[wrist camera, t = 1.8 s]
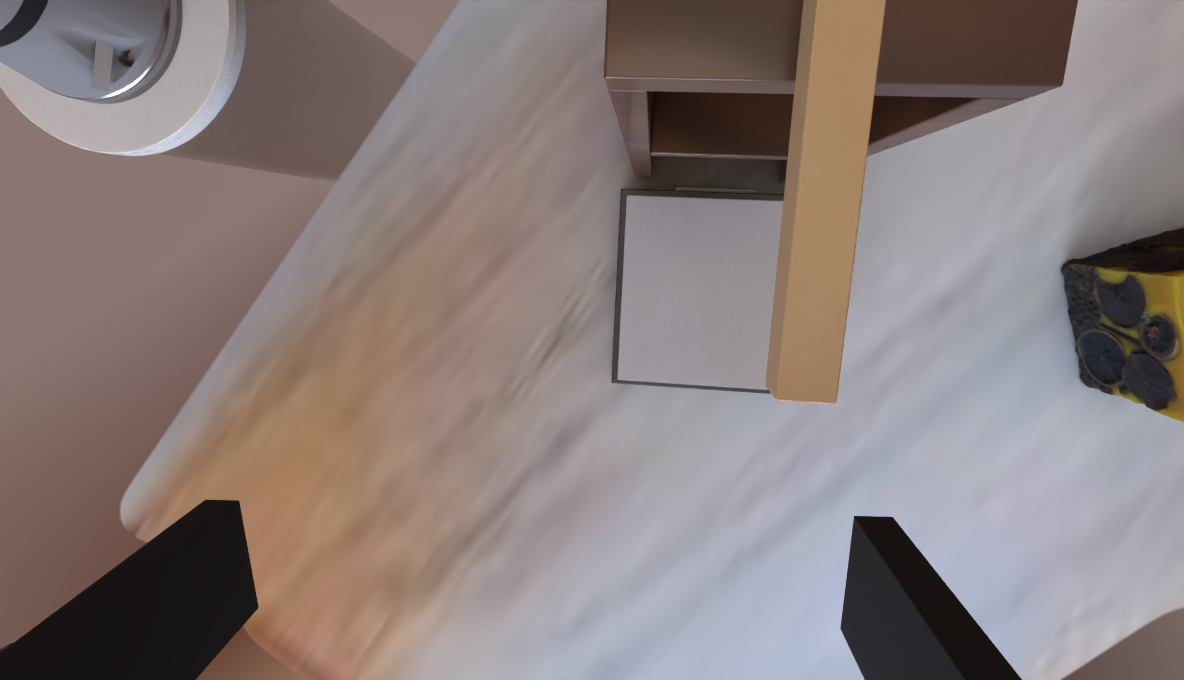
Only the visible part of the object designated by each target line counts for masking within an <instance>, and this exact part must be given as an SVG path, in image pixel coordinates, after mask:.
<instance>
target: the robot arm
mask: <svg viewBox="0 0 1184 680" xmlns="http://www.w3.org/2000/svg"><path fill="white" fill-rule="evenodd" d="M181 28H182V0H0V62H1V63H3V64H5V65H6V66H8V67H10V68H11V69H13V70H15V71H17V72H18V73H20V74H22V75H23V76H25V77H27V78H29V79H30V80H32V81H34V82H36V83H37V84H39V85H41V86H42V87H44V88H46V89H48V90H50V91H52V92H54V93H57V94H59V95H62V96H66V97H70V98H74V99H78V100H82V101H87V102H92V103H98V104H114V103H121V102H124V101H128V100H131V99H133V98H136V97H138V96H139V95H141V94H143V93H144V92H146V91H147V90H149V89H150V88H151V87H152V86H153V85H155V84H156V83H157V82H158V80H159V79H160V78H161V77H162V76H163V74H164V73H165V72H166V70H167V69H168V67H169V65H170V63H171V62H172V59H173V57H174V55H175V53H176V50H177V47H178V43H179V39H180V35H181ZM257 609H258V602H257V597H256V591H255V586H254V580H253V575H252V569H251V564H250V558H249V553H248V547H247V542H246V536H245V531H244V525H243V520H242V514H241V509H240V503H239V501H233V500H205V501H203V502H202V503H201V504H199V505H198V506H196V507H195V508H194V509H192V510H191V511H190V512H188V513H187V514H186V515H184V516H183V517H182V518H180V519H179V520H178V521H176V522H175V523H174V524H172V525H171V526H170V527H168V528H167V529H166V530H164V531H163V532H162V533H160V534H159V535H158V536H156V537H155V538H154V539H152V540H151V541H150V542H148V543H147V544H146V545H144V546H143V547H142V548H140V549H139V550H138V551H136V552H135V553H134V554H132V555H131V556H129V557H128V558H127V559H125V560H124V561H123V562H122V563H120V564H119V565H117V566H116V567H115V568H113V569H112V570H111V571H109V572H108V573H107V574H106V575H104V576H103V577H101V578H100V579H99V580H97V581H96V582H95V583H93V584H92V585H91V586H89V587H88V588H87V589H85V590H84V591H83V592H81V593H80V594H79V595H77V596H76V597H75V598H73V599H72V600H71V601H69V602H68V603H67V604H65V605H64V606H63V607H61V608H60V609H59V610H57V611H56V612H55V613H53V614H52V615H50V616H49V617H48V618H47V619H45V620H44V621H42V622H41V623H40V624H38V625H37V626H36V627H34V628H33V629H32V630H31V631H29V632H28V633H26V634H25V635H24V636H23V637H21V638H20V639H18V640H17V641H16V642H14V643H11V644H9V645H7V646H6V647H4V648H2V649H0V680H196V679H197V678H198V676H199V675H200V674H201V673H202V672H203V671H204V669H205V668H206V667H207V666H208V665H209V664H210V663H211V661H212V660H213V659H214V658H215V657H216V656H217V654H218V653H219V652H220V651H221V650H222V649H223V648H224V647H225V645H226V644H227V643H228V642H229V641H230V640H231V638H232V637H233V636H234V635H235V634H236V633H237V632H238V631H239V629H240V628H241V627H242V626H243V625H244V624H245V623H246V621H247V620H248V619H249V618H250V617H251V616H252V615H253V613H254V612H255V611H256V610H257ZM841 631H842V633H843V635H844V637H845V639H846V641H847V643H848V645H849V648H850V650H851V652H852V654H853V656H854V658H855V660H856V662H857V664H858V666H859V668H860V671H861V673H862V675H863V677H864V679H865V680H1022V679H1021V678H1020V677H1019V675H1018V674H1017V673H1016V672H1015V670H1014V669H1013V668H1012V667H1011V665H1010V664H1009V663H1008V662H1007V660H1006V659H1005V658H1004V657H1003V655H1002V654H1001V653H1000V652H999V650H998V649H997V648H996V647H995V645H994V644H993V643H992V642H991V640H990V639H989V638H988V636H987V635H986V634H985V633H984V631H983V630H982V629H981V628H980V626H979V625H978V624H977V623H976V621H975V620H974V619H973V618H972V616H971V615H970V614H969V613H968V611H967V610H966V609H965V608H964V606H963V605H962V604H961V603H960V601H959V600H958V599H957V597H956V596H955V595H954V594H953V592H952V591H951V590H950V589H949V587H948V586H947V585H946V584H945V582H944V581H943V580H942V579H941V577H940V576H939V575H938V574H937V572H936V571H935V570H934V569H933V567H932V566H931V565H930V564H929V562H928V561H927V560H926V558H925V557H924V556H923V555H922V553H921V552H920V551H919V550H918V548H917V547H916V546H915V545H914V543H913V542H912V541H911V540H910V538H909V537H908V536H907V535H906V533H905V532H904V531H903V530H902V528H901V527H900V526H899V525H898V523H897V522H896V521H895V519H894V518H893V517H872V516H854V522H853V530H852V538H851V546H850V555H849V563H848V571H847V580H846V588H845V596H844V604H843V613H842V621H841Z"/></svg>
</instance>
